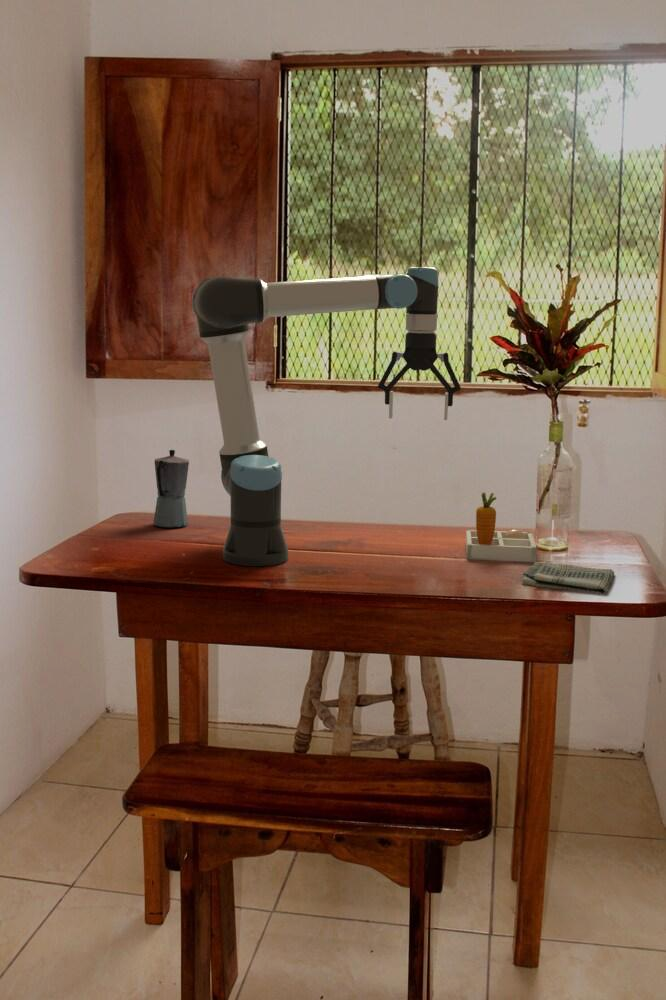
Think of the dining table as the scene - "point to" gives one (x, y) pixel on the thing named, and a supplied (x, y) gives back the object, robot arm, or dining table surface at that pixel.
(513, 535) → the brown egg right
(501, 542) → the carton
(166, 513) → the moka pot
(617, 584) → the dining table surface
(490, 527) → the carrot
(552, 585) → the dish towel
